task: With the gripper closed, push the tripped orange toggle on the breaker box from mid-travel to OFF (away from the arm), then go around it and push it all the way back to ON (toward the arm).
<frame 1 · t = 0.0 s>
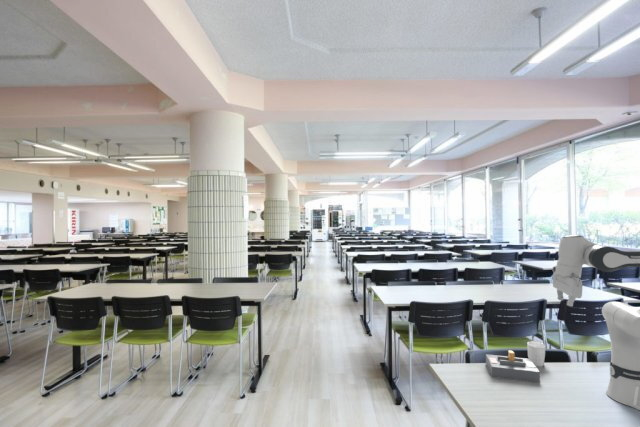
hand: (564, 302, 146), 39 cm above the table, tool pointing down, fingers open, 8 cm apart
white cup: (536, 364, 172), on the table
breaker toggle: (511, 356, 162), point 8 cm above the table, slide at 4.0 cm
breaker box: (511, 372, 162), on the table
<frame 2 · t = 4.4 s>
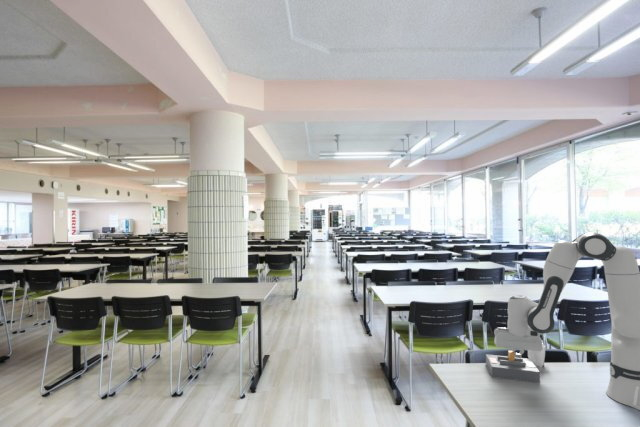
hand: (517, 357, 162), 8 cm above the table, tool pointing down, fingers closed
breaker toggle: (511, 356, 162), point 8 cm above the table, slide at 4.1 cm, touching gripper
everything else where it was.
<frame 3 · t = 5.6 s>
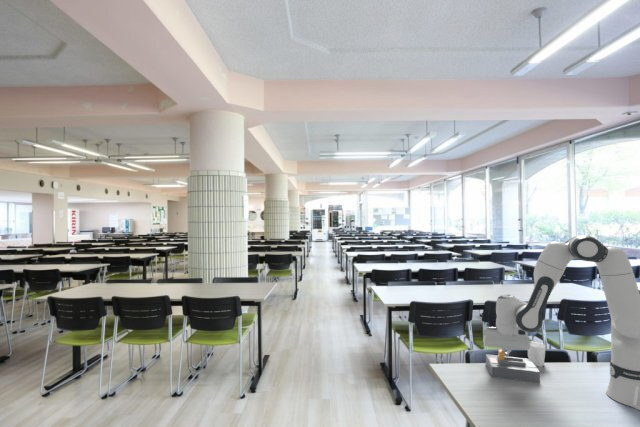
hand: (506, 356, 163), 8 cm above the table, tool pointing down, fingers closed
breaker toggle: (501, 355, 164), point 8 cm above the table, slide at 8.5 cm, touching gripper
everything else where it was.
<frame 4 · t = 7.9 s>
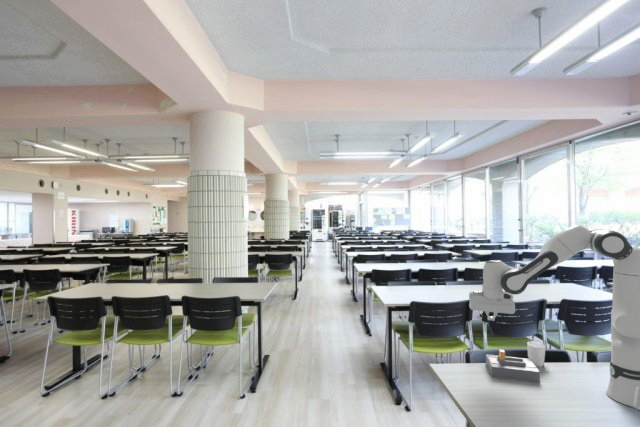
hand: (491, 320, 165), 25 cm above the table, tool pointing down, fingers closed
breaker toggle: (502, 355, 163), point 8 cm above the table, slide at 8.1 cm
everything else where it was.
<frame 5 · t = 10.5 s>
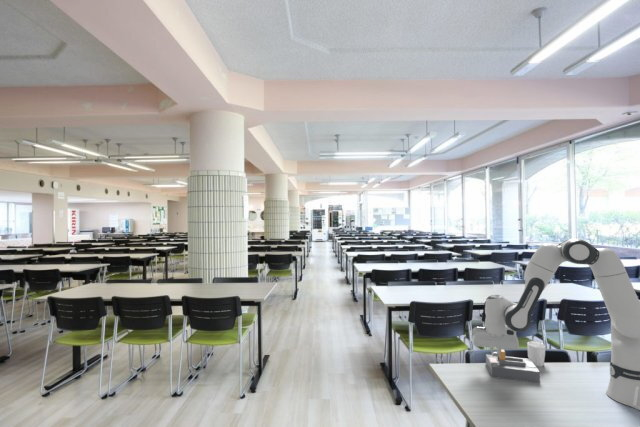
hand: (495, 356, 164), 7 cm above the table, tool pointing down, fingers closed
breaker toggle: (502, 355, 163), point 8 cm above the table, slide at 8.0 cm, touching gripper
everything else where it was.
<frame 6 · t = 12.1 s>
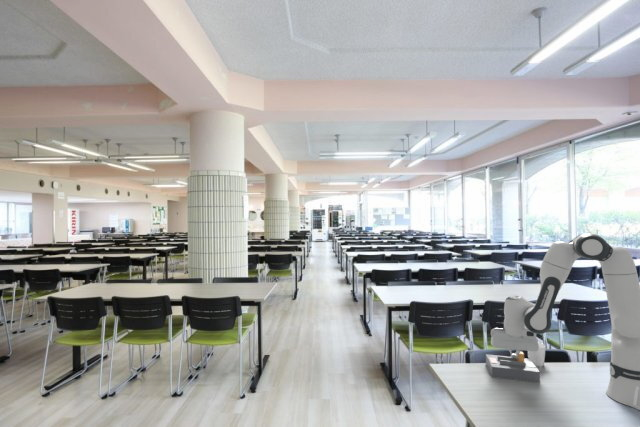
hand: (514, 357, 162), 8 cm above the table, tool pointing down, fingers closed
breaker toggle: (520, 357, 161), point 8 cm above the table, slide at -0.1 cm, touching gripper
everything else where it was.
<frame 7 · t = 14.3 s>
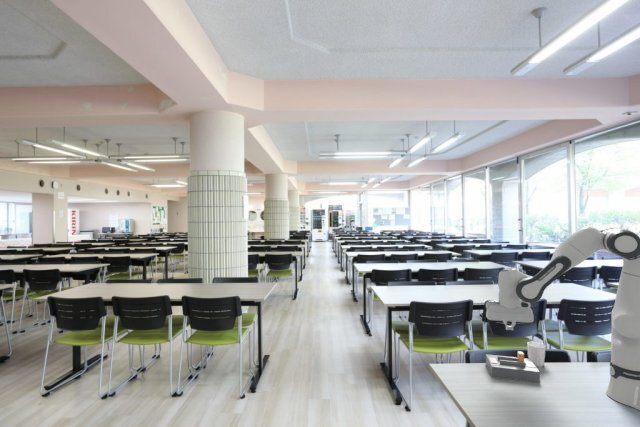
hand: (509, 329, 162), 21 cm above the table, tool pointing down, fingers closed
breaker toggle: (520, 357, 161), point 8 cm above the table, slide at -0.1 cm
everything else where it was.
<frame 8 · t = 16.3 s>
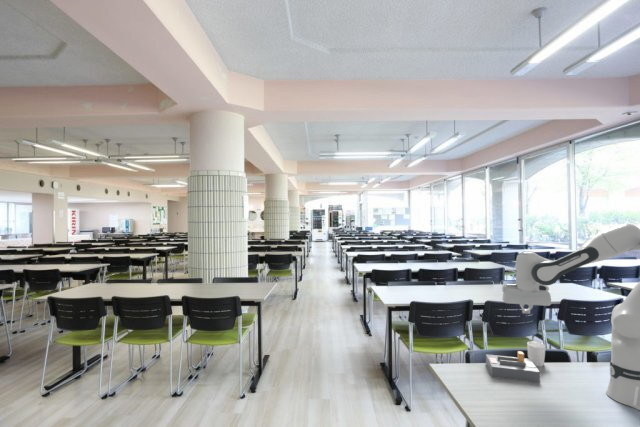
hand: (526, 313, 162), 29 cm above the table, tool pointing down, fingers closed
nothing on the table moved.
at the end: breaker toggle slide at -0.1 cm; white cup moved 0.2 cm from its start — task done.
